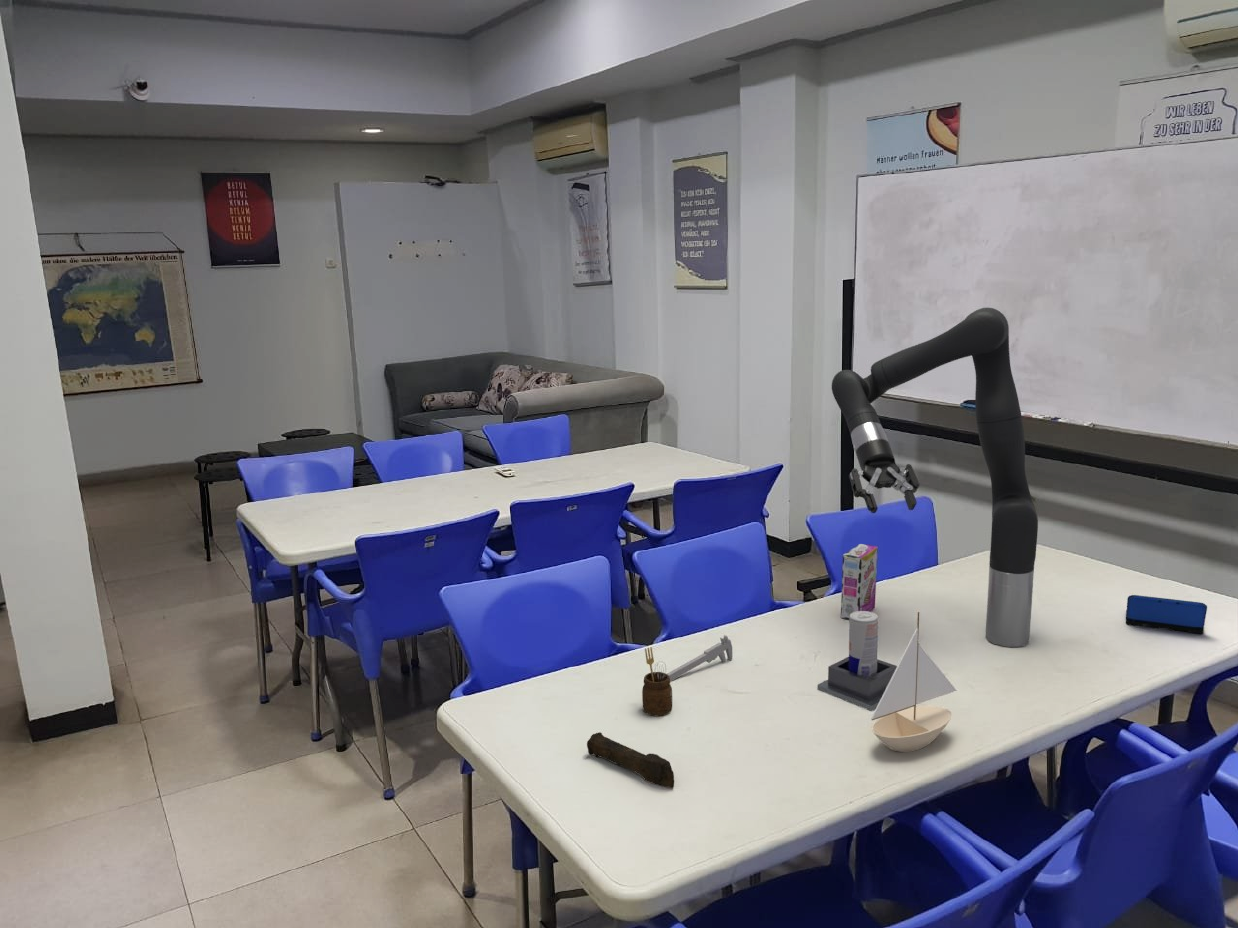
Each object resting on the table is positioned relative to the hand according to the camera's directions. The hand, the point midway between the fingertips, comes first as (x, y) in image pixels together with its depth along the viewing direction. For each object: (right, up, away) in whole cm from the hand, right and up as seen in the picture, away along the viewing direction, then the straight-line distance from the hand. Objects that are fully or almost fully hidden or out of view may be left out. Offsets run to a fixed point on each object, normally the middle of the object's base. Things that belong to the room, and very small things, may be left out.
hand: (893, 509), depth 198 cm
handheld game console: (+68, -28, +18) cm, 76 cm away
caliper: (-42, -36, +2) cm, 55 cm away
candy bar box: (+1, -27, +32) cm, 42 cm away
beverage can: (-9, -35, -9) cm, 37 cm away
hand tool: (-56, -44, -35) cm, 79 cm away
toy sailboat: (-5, -41, -29) cm, 51 cm away
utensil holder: (-51, -39, -14) cm, 66 cm away
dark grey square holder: (-9, -36, -9) cm, 38 cm away
